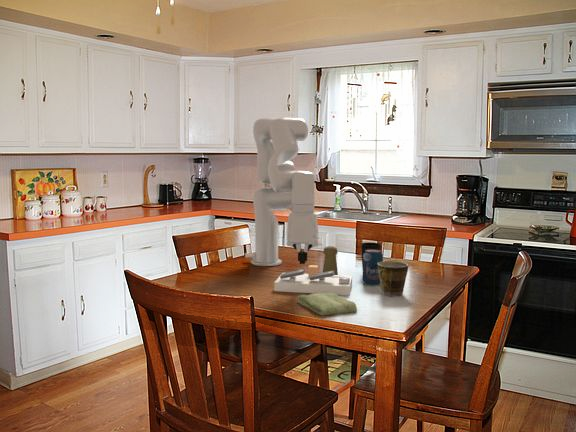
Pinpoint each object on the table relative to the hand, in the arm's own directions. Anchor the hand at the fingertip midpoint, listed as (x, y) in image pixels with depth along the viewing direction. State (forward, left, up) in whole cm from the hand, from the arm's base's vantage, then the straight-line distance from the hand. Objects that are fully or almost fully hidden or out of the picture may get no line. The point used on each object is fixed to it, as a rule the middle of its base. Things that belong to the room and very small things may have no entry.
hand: (302, 263), depth 185 cm
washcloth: (+10, -18, -10) cm, 23 cm away
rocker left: (-3, 0, -4) cm, 5 cm away
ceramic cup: (+29, 0, -9) cm, 31 cm away
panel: (+4, +4, -9) cm, 11 cm away
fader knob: (+3, +8, -6) cm, 10 cm away
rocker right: (+7, 0, -4) cm, 8 cm away
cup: (+22, +27, -9) cm, 36 cm away
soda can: (+23, +14, -9) cm, 29 cm away
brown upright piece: (+7, +24, -9) cm, 27 cm away
